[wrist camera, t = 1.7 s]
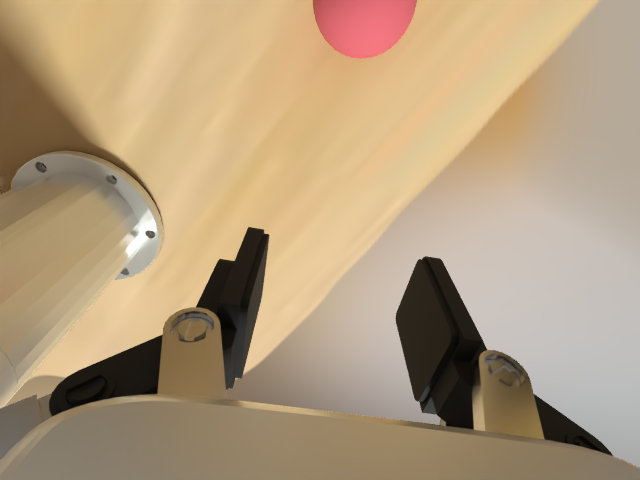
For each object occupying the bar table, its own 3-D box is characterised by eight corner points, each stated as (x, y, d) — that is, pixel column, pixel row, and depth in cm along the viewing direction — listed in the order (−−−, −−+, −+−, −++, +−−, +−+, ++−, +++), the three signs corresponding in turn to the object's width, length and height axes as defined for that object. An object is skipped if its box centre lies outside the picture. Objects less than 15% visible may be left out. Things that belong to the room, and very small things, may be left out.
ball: (307, 46, 24) (302, 49, 19) (323, -66, 21) (322, -98, 16) (390, 63, 24) (407, 71, 19) (418, -43, 21) (447, -68, 16)
